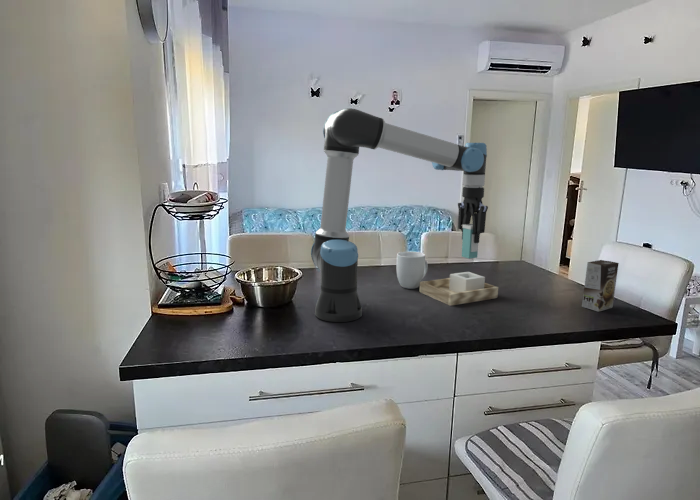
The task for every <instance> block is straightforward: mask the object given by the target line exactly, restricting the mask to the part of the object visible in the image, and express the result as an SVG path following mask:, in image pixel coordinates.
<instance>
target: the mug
mask: <svg viewBox="0 0 700 500" xmlns="http://www.w3.org/2000/svg"><path fill="white" fill-rule="evenodd" d="M395 267H396V277H397V282H399V285H400V287H402V288H404V289H411V290H414V289H417V288H420V282H422V281H423V279H424V278H425V276H426V275H427V273H428V269H429V267H428V262H427V260H426V254H425V253H423V252H419V251H399V252H397V254H396V266H395Z"/></svg>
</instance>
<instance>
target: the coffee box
mask: <svg viewBox="0 0 700 500" xmlns="http://www.w3.org/2000/svg"><path fill="white" fill-rule="evenodd" d="M619 265H620V263H619V262H616V261H611V260H610V261H609V260H602V259H600V260H599V259H598V260H595V261H588V262H587V265H586V273H585V280H584V289H583V294H582V303H581V308H585V309H589V310H592V311H595V312H597V313H598V312H599V313H600V312H602V311H605V310H609V309H612V308H613V306H614V299H615V293H616V285H617V279H618V270H619Z"/></svg>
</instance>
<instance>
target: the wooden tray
mask: <svg viewBox="0 0 700 500" xmlns="http://www.w3.org/2000/svg"><path fill="white" fill-rule="evenodd" d="M449 283H450V277H446V278H439V279H429V280H422V281H421V282H420V285H419V293H421V294H422V295H426V296H427V297H430V298H432V299H434V300H436V301H439V302H441V303H443V304H445V305H447V306H450V307H451V306H456V305H462V304H469V303H474V302H480V301H486V300H491V299H497V298H499V297H498V295H499V286H496V285H494V284H490V283H487V282H485V284H484V289H477V290H471V291H464V292H458V293H457V292H455V291H452V290H450V289H449Z"/></svg>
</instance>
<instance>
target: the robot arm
mask: <svg viewBox="0 0 700 500" xmlns="http://www.w3.org/2000/svg"><path fill="white" fill-rule="evenodd" d="M322 133H323V138H324V143H323V144H324V145H323V152H324V154H326V156H327V160H326V168H325V169H326V170H325V180H324V190H323V199H322V200H323V201H322V209H321V220H320V227H319V228H318V230H316V231H315V234H314V242H313V244H312V246H311V248H310V249H311V251H310V255H311V260H312V263H313V265H314V266H315V267H317V269H318V270H319V272H320V293H319V295H318V298H317V300H316V303H315V307H314V315H315V317H316V318H318V319H320V320H321V321H324V322H329V323H330V322H331V323H332V322H333V323H345V322H353V321H356V320H358V319H360V318H361V317H362V315H363V307H362V304H361V301H360V297H359V293H358V269H359V268H358V267H359V266H358V265H359V264H358V262H359V261H358V260H359V252H358V250H359V249H358V247H357V245H356V244H355V243H354V242H352V241H350V235H349V233H348V232H347V231H346V229H347V218H348V212H349V211H348V210H349V202H350V201H349V200H350V193H351V192H350V191H351V186H352V184H351V183H352V175H353V165H354V159H355V158H357V157H358V156H359V153H360V147H361V148H367V149H371V150H376V149H383V150H387V151H389V152H390V151H391V152H394V153H397V154H401V155H405V156H408V157H411V158H412V157H413V158H416V159H419V160H422V161H427V162H430V163H431V165H432V168H433V169H434V170H437V171H454V172H458V171H459V172H463V176H462V177H463V178H462V185H463V187H462V192H461V193H462V195H461V196H462V197H463V200H462V202H457V207H458V218H457V220H458V221H457V223H458V224H457V225H458V226H457V228H458V230H460V231H461V240H462V241H463V228H462V227H463V224H471V222H472V224H473V233H472V237H471V252H476V251H479V243H480V237H481V236H480V235H481V234H484V233H485V229H486V218H487V211H488V208H489V206H488V205H484V204H483V198H484V197H485V187H484V186H485V182H486V181H485V180H486V170H487V169H486V167H487V166H486V165H487V157H488V154H487V152H488V151H487V150H488V149H487V143H485V142H466V143H465V145H461V144H457V143H454V142H452V141H447V140H444V139H441V138H437V137H433V136H431V135H428V134H423V133H420V132H417V131H414V130H410V129H406V128H403V127H399V126H397V125H393V124H390V123H386V121H385V120H384V118H382V117H379V116H375V115H373V114H370V113H368V112H365V111H362V110H360V109H356V108H352V107H351V108H345V109H342V110H337V111H335V112H333V113H331V114H330V115H328V117H327V118H326V120H325V122H324V123H323V127H322ZM471 220H472V221H471ZM462 241H461V242H462Z"/></svg>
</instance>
